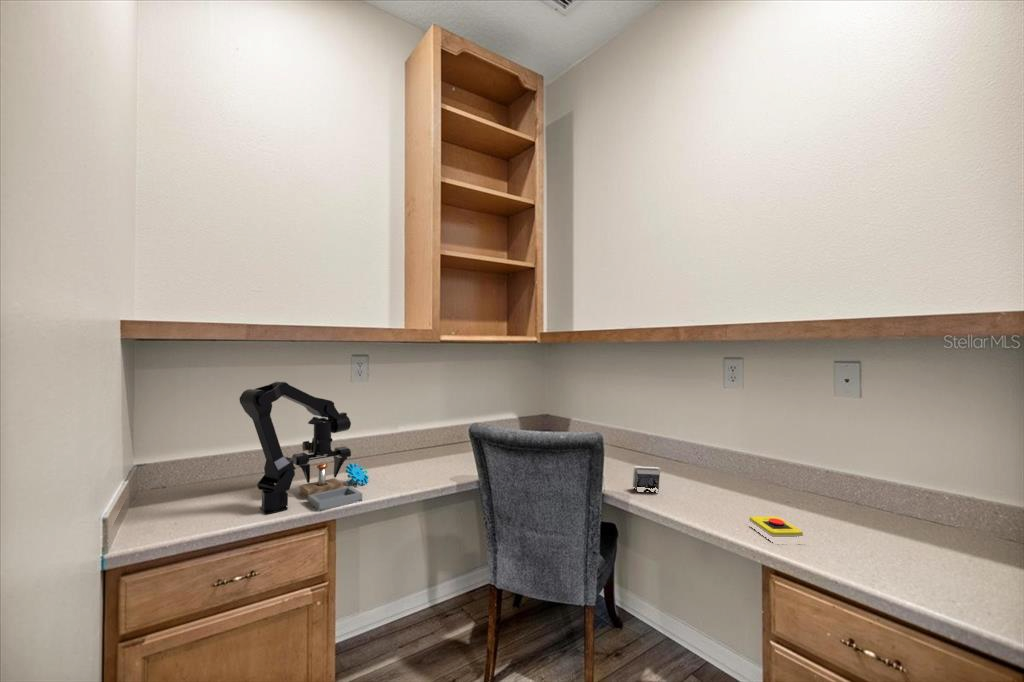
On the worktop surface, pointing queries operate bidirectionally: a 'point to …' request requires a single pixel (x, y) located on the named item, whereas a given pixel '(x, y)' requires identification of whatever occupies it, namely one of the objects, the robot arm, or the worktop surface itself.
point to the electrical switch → (646, 477)
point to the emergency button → (775, 526)
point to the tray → (334, 498)
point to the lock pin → (321, 474)
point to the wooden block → (313, 487)
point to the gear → (357, 474)
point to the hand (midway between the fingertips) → (321, 479)
